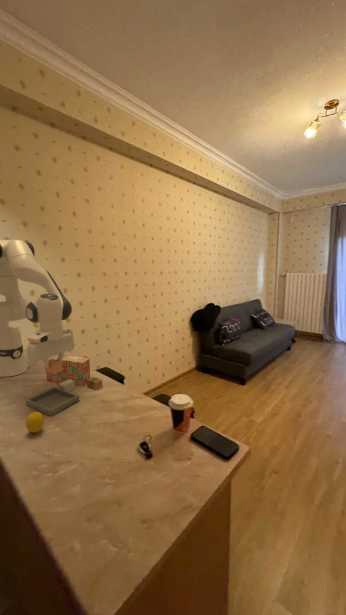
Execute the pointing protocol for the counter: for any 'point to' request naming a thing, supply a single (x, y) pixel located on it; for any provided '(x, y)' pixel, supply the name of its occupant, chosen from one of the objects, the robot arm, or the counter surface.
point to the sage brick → (67, 385)
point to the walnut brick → (94, 383)
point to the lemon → (35, 422)
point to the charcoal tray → (52, 401)
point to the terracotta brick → (54, 366)
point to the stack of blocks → (72, 371)
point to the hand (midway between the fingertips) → (53, 365)
